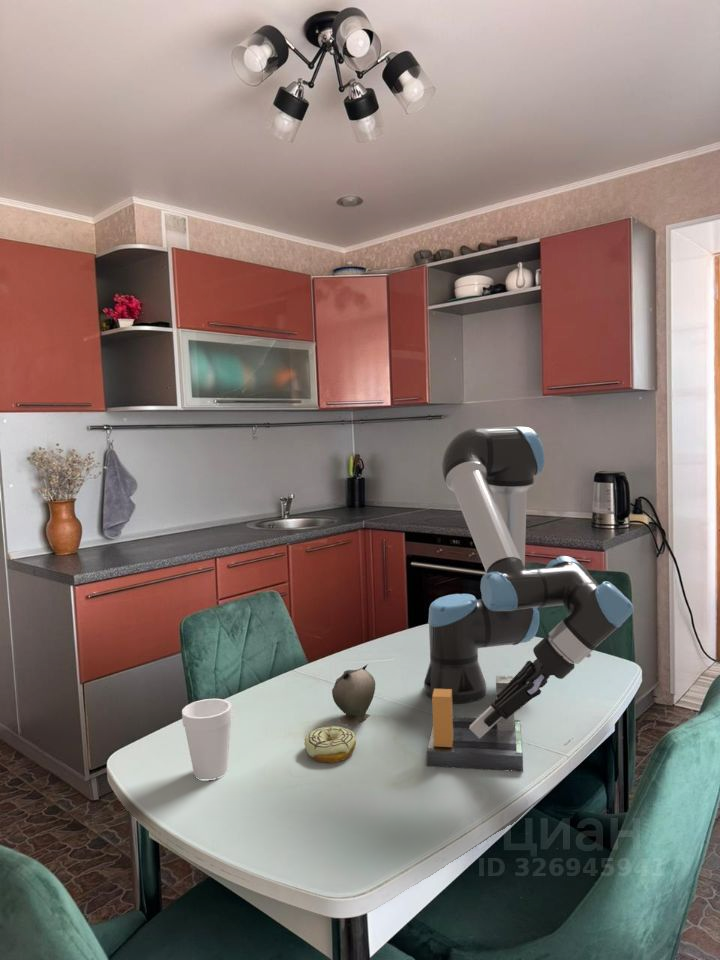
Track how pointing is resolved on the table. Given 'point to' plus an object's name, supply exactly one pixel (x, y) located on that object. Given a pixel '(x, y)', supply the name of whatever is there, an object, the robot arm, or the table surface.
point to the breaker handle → (442, 717)
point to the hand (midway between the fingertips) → (474, 732)
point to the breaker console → (481, 744)
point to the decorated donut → (330, 744)
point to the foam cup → (208, 736)
